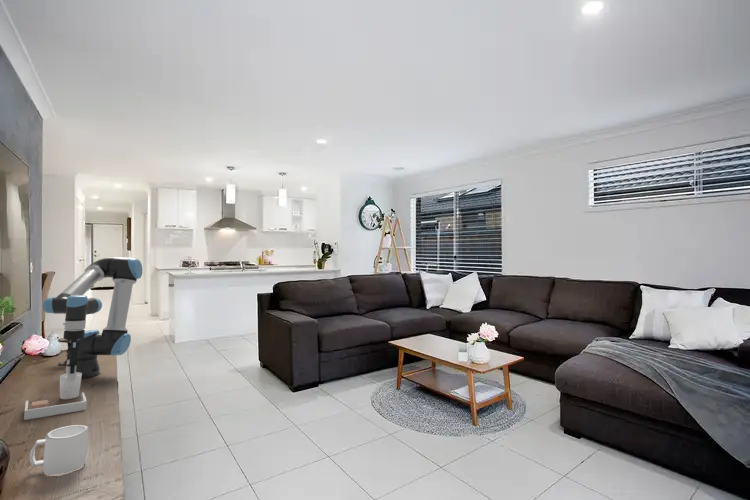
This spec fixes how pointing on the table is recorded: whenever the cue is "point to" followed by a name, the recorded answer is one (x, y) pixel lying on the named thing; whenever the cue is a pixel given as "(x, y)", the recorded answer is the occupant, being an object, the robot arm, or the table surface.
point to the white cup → (70, 386)
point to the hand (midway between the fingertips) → (70, 377)
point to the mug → (62, 449)
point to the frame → (55, 409)
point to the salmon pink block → (39, 404)
